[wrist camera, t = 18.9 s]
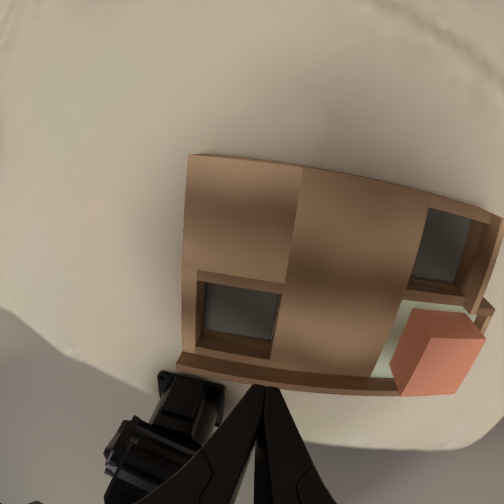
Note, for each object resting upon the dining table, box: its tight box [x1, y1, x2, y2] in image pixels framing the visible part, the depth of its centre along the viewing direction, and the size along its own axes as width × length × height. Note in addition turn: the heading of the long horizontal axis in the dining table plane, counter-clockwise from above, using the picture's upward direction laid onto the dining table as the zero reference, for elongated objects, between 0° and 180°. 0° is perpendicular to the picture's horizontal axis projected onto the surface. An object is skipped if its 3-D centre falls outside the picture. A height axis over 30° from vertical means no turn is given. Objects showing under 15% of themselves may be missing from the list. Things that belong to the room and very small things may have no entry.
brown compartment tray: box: [176, 154, 504, 396], centre depth 18 cm, size 15×23×4 cm, turn 84°
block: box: [389, 308, 486, 397], centre depth 17 cm, size 5×5×4 cm
